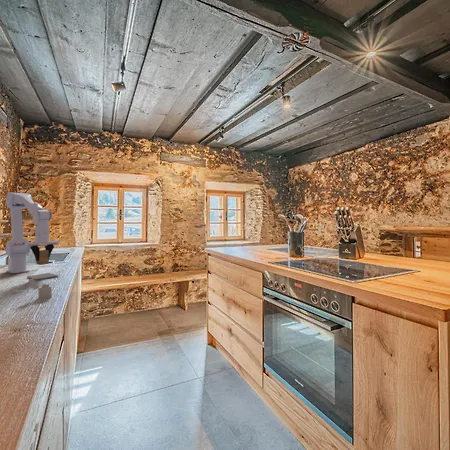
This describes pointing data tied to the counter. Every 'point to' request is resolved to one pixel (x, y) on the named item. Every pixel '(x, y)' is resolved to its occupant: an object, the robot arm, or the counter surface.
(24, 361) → the counter surface
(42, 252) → the walnut block
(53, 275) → the slate tile
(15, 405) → the counter surface
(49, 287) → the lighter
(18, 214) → the robot arm
